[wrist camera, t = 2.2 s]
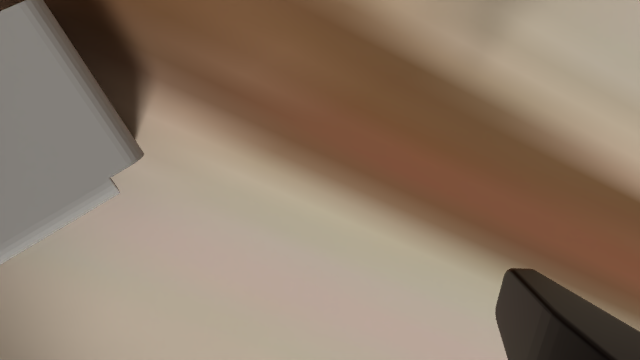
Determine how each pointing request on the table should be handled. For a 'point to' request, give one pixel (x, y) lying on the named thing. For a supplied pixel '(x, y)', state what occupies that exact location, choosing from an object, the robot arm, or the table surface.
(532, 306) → the robot arm
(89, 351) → the table surface
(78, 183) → the bracket
